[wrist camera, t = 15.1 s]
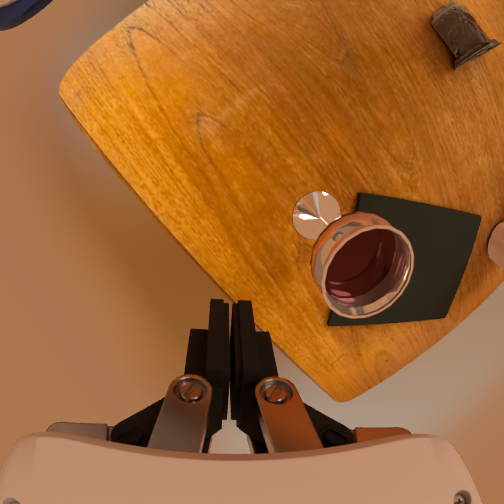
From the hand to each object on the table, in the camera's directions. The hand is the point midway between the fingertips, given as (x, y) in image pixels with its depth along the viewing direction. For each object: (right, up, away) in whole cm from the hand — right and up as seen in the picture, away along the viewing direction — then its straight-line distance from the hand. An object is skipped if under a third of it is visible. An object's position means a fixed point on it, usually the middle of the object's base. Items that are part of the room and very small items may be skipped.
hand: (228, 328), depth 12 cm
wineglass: (+7, +7, +16) cm, 19 cm away
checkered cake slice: (+26, +30, +7) cm, 40 cm away
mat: (+21, +1, +20) cm, 29 cm away
